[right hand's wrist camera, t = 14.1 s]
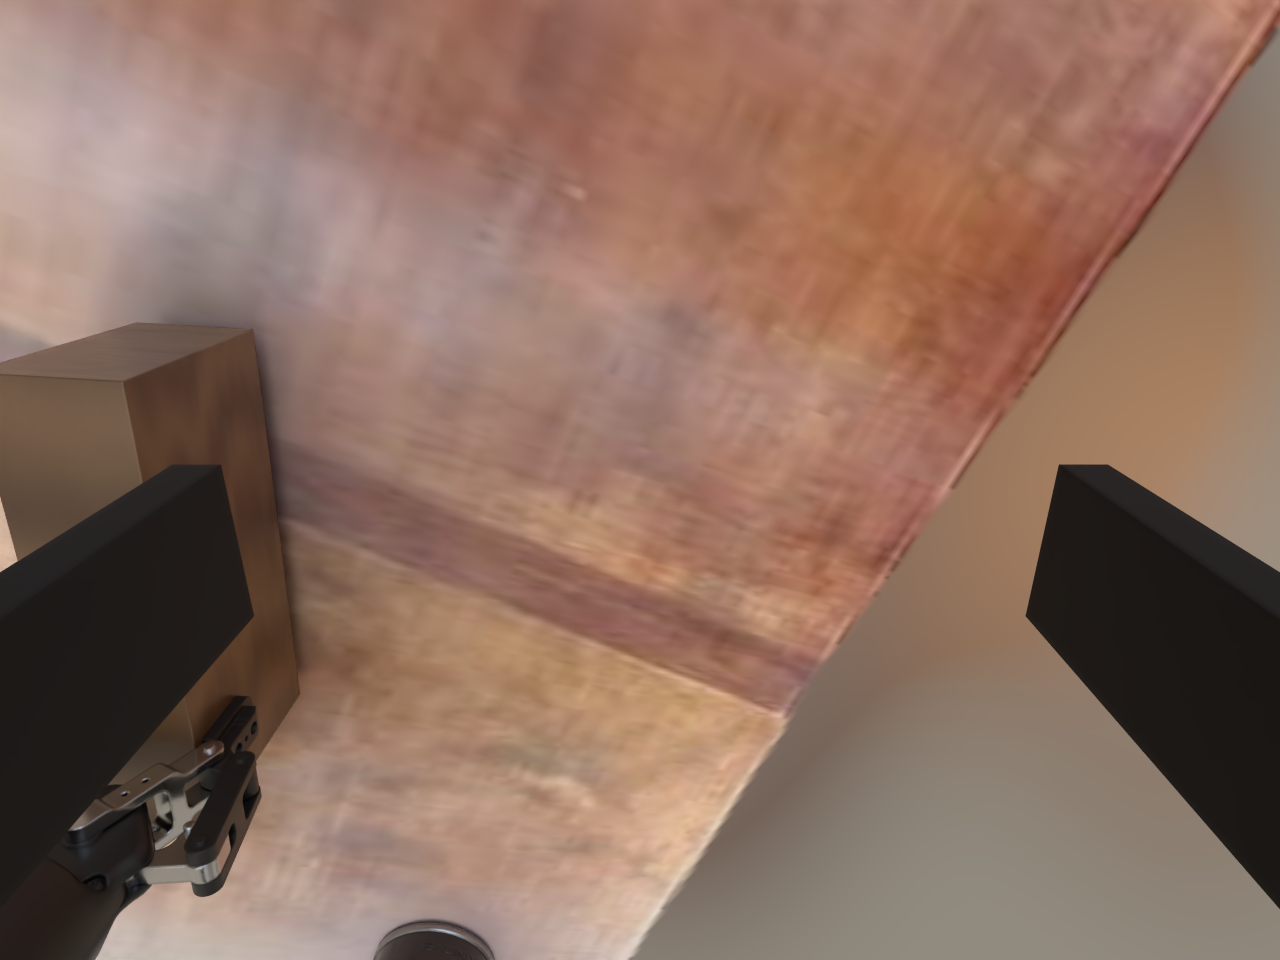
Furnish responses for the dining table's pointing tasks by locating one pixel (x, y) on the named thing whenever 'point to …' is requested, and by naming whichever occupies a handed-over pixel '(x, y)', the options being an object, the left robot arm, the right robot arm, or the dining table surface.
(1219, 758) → the right robot arm
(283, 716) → the box
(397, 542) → the dining table surface
